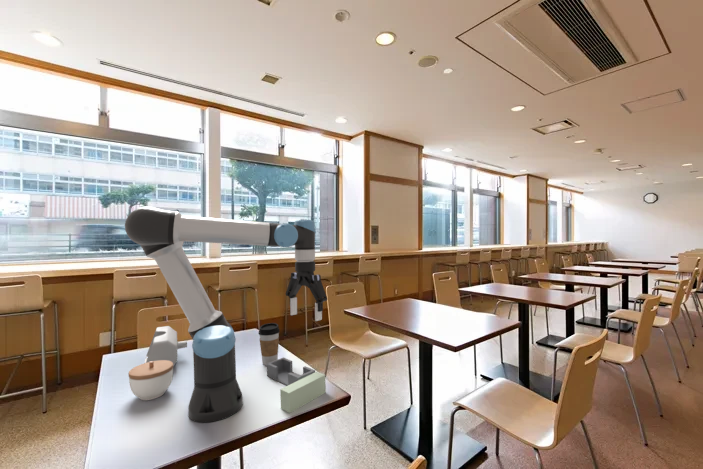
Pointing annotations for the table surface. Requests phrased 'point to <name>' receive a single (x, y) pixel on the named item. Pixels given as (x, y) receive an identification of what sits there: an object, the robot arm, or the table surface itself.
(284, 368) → the grey holder tray
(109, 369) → the table surface
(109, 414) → the table surface
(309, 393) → the block
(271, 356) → the coffee cup
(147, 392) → the lidded bowl
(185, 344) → the tank
